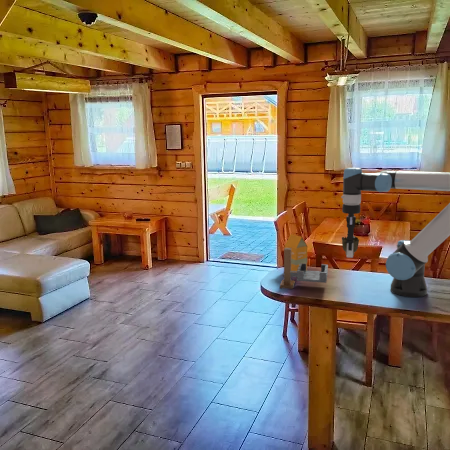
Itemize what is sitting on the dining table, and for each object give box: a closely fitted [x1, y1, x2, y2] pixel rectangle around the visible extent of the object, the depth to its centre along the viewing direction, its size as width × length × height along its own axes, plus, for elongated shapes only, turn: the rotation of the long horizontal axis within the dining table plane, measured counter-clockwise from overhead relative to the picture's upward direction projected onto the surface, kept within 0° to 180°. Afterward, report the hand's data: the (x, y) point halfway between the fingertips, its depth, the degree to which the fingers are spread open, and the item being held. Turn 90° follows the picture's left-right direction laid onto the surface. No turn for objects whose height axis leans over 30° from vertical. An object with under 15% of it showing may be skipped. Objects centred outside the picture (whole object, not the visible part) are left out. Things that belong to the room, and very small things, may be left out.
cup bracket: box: [279, 247, 329, 290], centre depth 205 cm, size 21×13×18 cm, turn 74°
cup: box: [341, 235, 360, 256], centre depth 196 cm, size 8×7×8 cm
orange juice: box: [284, 233, 308, 271], centre depth 225 cm, size 8×9×20 cm
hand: (349, 254), depth 197 cm, fingers closed on cup, 7 cm apart
